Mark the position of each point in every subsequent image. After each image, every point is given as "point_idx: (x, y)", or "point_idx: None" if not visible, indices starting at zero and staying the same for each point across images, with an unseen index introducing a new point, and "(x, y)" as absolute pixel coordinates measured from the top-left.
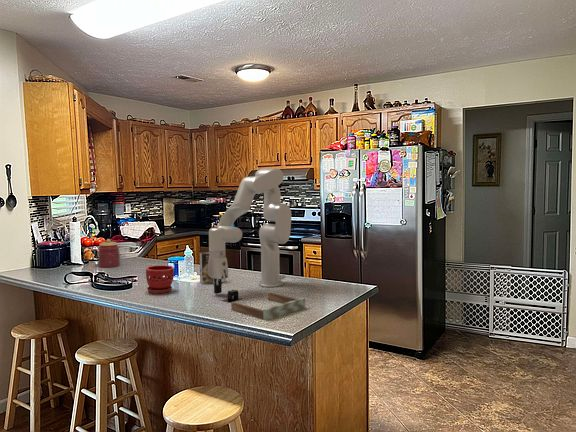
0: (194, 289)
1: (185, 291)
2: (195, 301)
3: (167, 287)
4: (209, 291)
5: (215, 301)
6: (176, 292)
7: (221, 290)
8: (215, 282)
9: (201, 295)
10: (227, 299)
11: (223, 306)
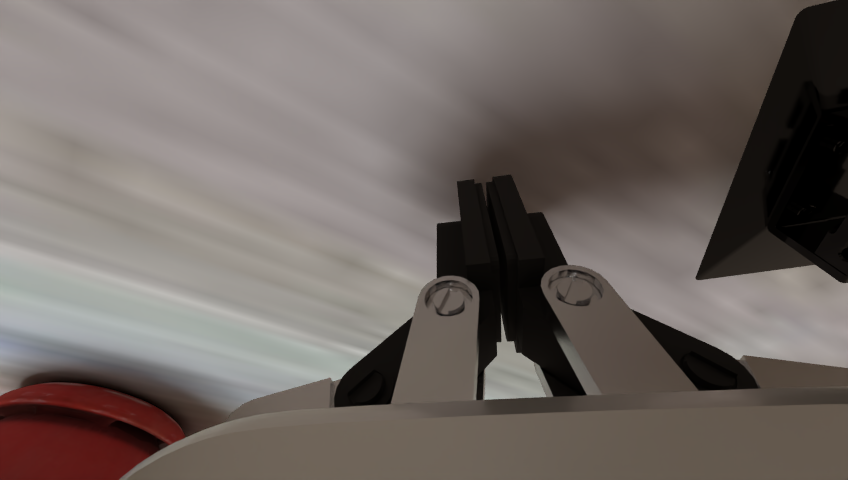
0: (69, 260)
1: (152, 334)
2: (511, 389)
3: (132, 441)
4: (224, 183)
5: (657, 317)
6: (173, 376)
7: (514, 186)
8: (480, 372)
9: (369, 309)
10: (771, 232)
11: (839, 339)
